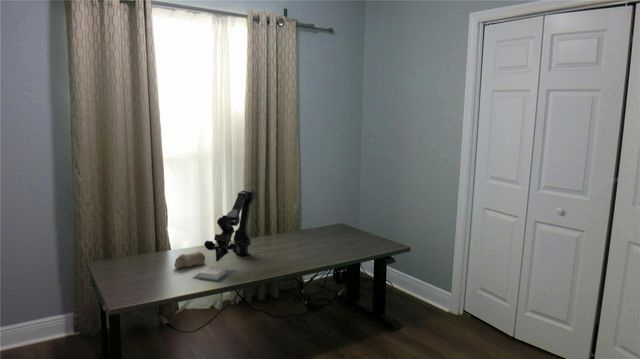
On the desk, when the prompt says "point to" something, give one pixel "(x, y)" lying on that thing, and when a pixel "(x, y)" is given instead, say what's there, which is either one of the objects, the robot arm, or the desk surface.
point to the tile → (212, 273)
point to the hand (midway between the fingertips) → (216, 261)
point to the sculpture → (189, 260)
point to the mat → (228, 273)
